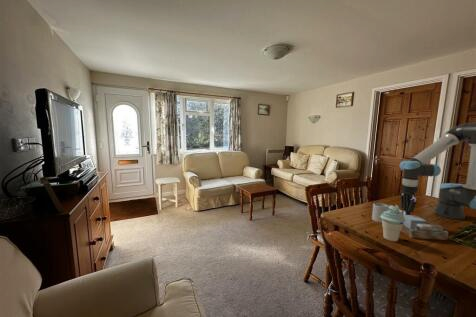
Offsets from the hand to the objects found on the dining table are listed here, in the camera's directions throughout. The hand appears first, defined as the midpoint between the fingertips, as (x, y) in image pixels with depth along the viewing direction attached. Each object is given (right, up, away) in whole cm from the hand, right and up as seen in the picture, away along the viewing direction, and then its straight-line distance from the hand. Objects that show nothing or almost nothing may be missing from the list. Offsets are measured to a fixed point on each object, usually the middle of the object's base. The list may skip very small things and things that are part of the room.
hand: (405, 220), depth 129 cm
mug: (-12, -2, +7) cm, 13 cm away
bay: (-1, -3, -7) cm, 8 cm away
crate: (-1, -3, -6) cm, 7 cm away
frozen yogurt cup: (-23, -5, -18) cm, 30 cm away
